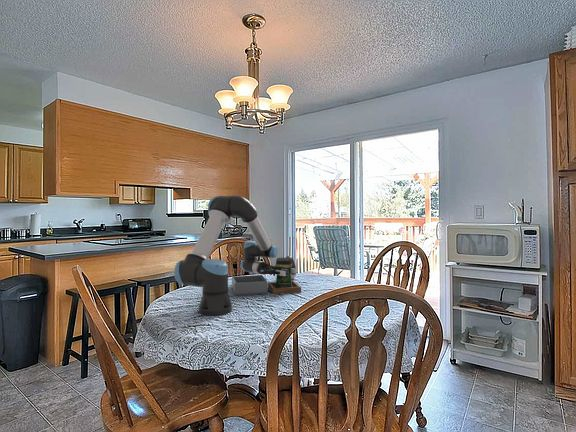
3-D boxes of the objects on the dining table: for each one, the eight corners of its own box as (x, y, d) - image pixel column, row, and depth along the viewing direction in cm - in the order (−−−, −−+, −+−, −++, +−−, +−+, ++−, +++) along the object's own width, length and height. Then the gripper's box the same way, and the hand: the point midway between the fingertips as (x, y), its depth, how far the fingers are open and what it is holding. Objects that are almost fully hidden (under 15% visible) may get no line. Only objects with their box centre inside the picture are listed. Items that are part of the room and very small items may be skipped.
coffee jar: (274, 291, 193) (274, 258, 192) (276, 287, 201) (276, 256, 200) (291, 291, 192) (291, 258, 192) (292, 287, 200) (292, 256, 200)
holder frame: (301, 292, 191) (301, 286, 191) (273, 294, 187) (273, 288, 187) (293, 285, 206) (293, 280, 206) (267, 287, 202) (267, 282, 202)
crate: (267, 294, 187) (267, 281, 187) (234, 296, 183) (234, 283, 182) (262, 286, 204) (261, 274, 204) (231, 288, 200) (231, 276, 200)
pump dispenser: (278, 277, 229) (278, 255, 228) (292, 276, 233) (292, 254, 232) (284, 281, 219) (284, 257, 219) (299, 279, 224) (299, 256, 223)
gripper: (272, 271, 216) (301, 275, 202) (248, 276, 199) (278, 282, 185) (272, 259, 216) (301, 263, 202) (248, 264, 199) (277, 268, 185)
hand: (290, 272), depth 193 cm, fingers closed on coffee jar, 9 cm apart
